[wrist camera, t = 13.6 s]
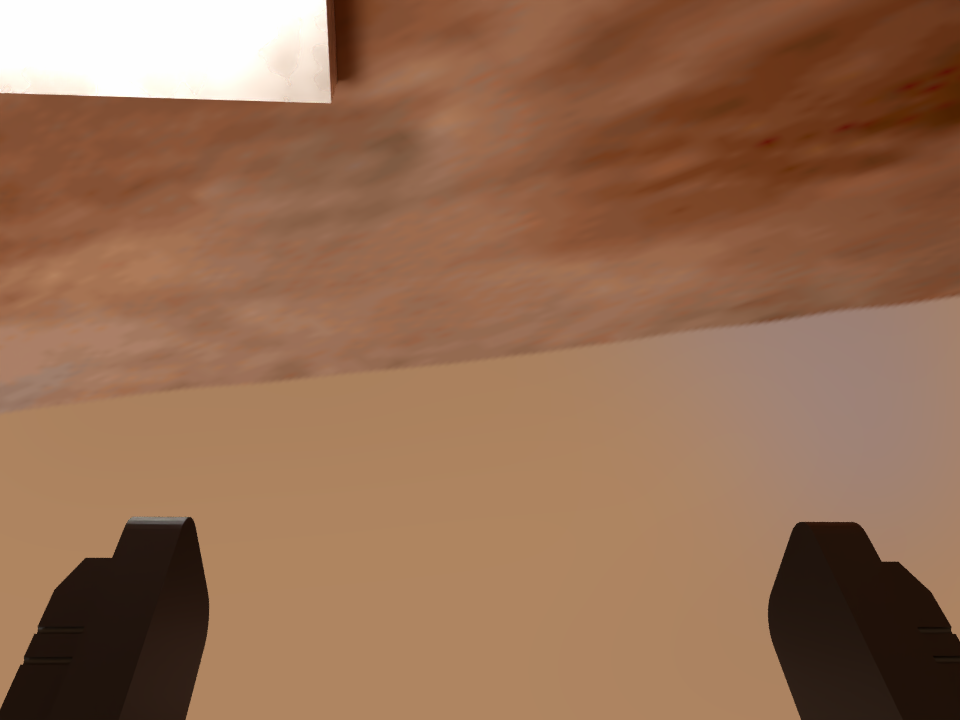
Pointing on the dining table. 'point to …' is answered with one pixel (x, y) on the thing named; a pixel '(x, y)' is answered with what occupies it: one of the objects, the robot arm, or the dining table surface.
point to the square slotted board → (170, 49)
